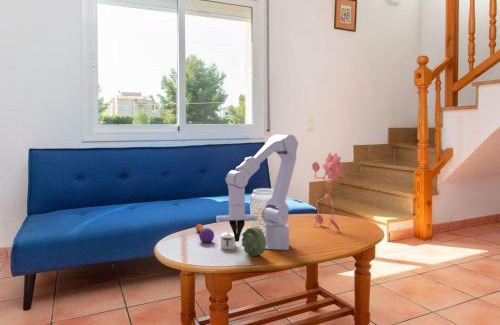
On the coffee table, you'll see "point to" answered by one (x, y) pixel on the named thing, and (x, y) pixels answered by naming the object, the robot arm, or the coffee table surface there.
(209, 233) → the kendama
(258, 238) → the decorative artifact
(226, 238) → the letter cube
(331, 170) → the figurine
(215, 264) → the coffee table surface
